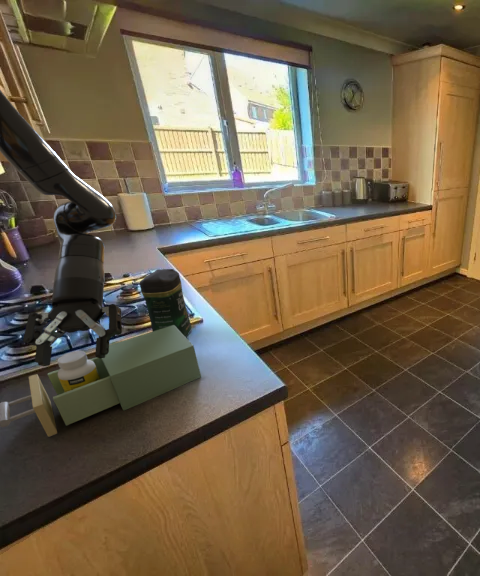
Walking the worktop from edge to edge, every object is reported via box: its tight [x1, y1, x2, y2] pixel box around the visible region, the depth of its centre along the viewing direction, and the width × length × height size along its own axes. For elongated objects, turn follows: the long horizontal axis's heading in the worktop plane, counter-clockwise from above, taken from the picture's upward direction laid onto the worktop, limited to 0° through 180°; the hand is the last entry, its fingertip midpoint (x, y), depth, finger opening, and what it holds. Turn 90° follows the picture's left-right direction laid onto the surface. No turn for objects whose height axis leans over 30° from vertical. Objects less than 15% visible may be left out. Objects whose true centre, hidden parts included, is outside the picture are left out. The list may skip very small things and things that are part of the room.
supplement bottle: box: [56, 350, 100, 392], centre depth 63 cm, size 5×5×10 cm
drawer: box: [0, 356, 120, 438], centre depth 63 cm, size 18×11×7 cm, turn 137°
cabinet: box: [102, 325, 202, 411], centre depth 72 cm, size 15×13×9 cm
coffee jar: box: [139, 268, 192, 338], centre depth 87 cm, size 10×8×19 cm
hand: (72, 361), depth 62 cm, fingers open, 8 cm apart
